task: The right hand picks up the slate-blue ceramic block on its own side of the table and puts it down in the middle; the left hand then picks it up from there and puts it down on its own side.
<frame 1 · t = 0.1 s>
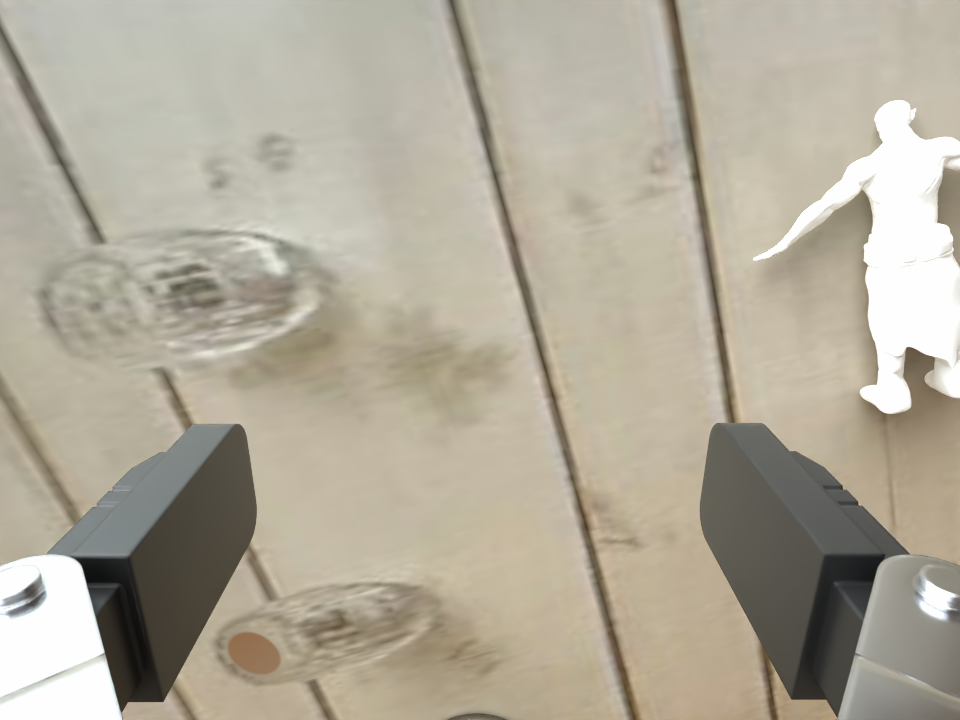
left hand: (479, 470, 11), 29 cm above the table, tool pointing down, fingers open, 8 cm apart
figurine: (887, 254, 39), on the table
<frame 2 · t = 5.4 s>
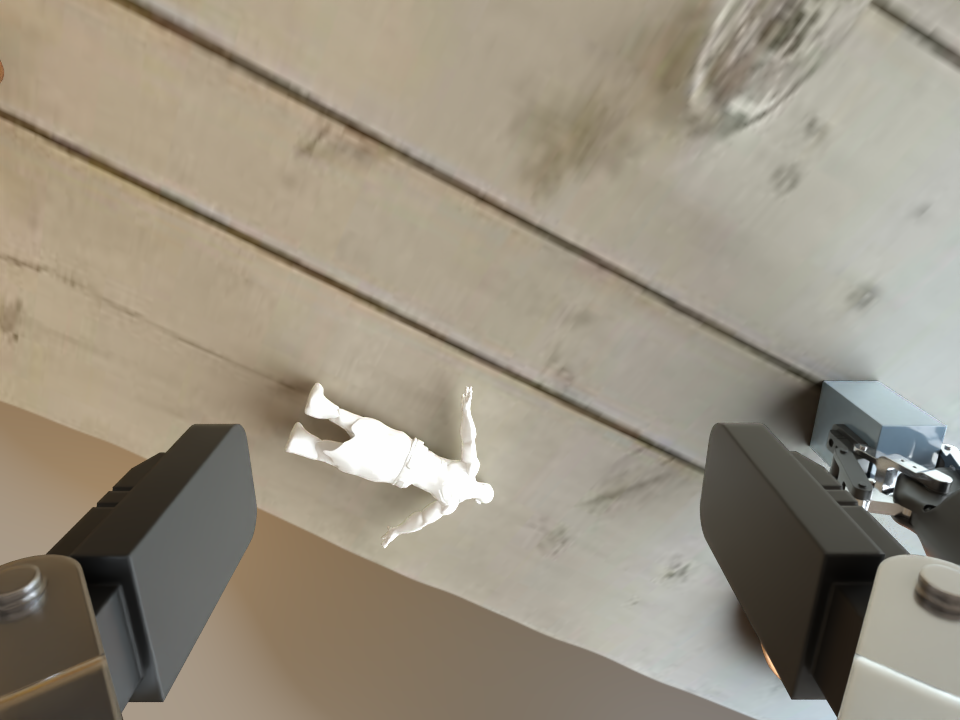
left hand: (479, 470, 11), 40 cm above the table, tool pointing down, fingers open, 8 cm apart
right hand: (868, 434, 51), fingers closed on block, 4 cm apart
figurine: (401, 447, 56), on the table
block: (843, 414, 55), on the table, touching right hand
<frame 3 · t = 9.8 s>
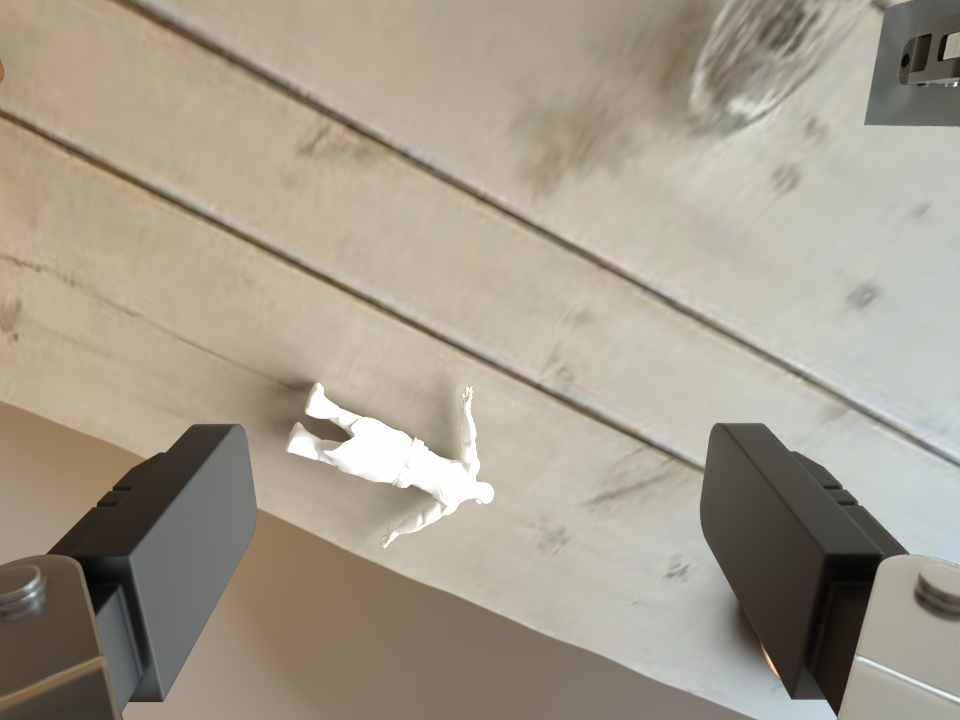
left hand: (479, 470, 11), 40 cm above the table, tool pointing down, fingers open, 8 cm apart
figurine: (401, 447, 56), on the table
block: (914, 67, 37), point 9 cm above the table, touching right hand
when the right hand's fingers open (5 cm above the table, at t = 14.2 s): block drops 2 cm, on the table.
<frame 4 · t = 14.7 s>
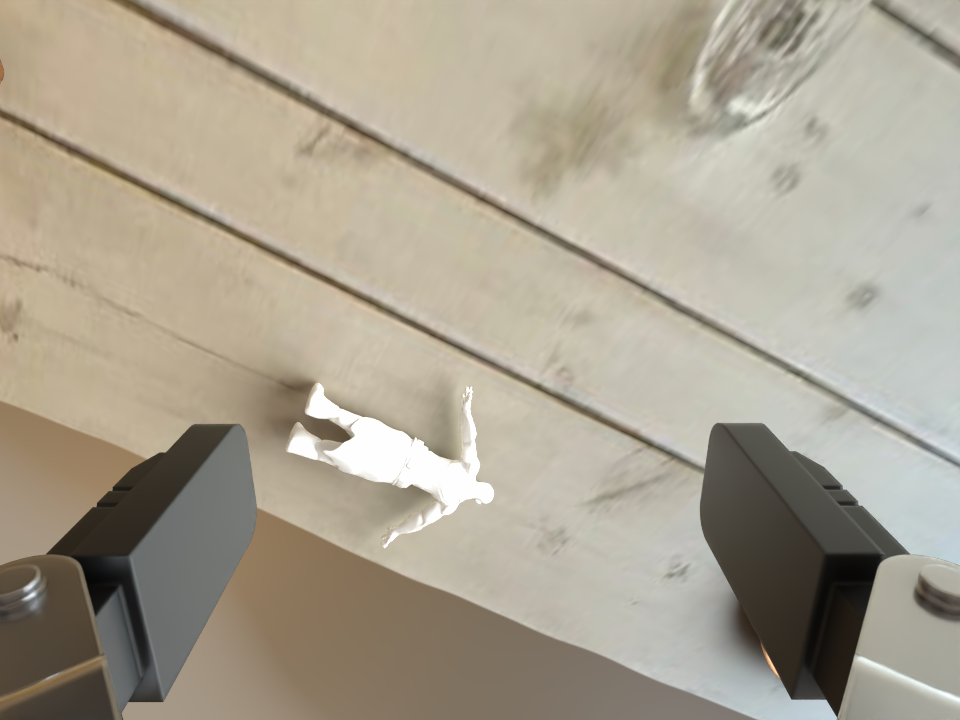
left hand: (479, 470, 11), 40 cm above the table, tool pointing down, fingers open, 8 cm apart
figurine: (401, 447, 56), on the table
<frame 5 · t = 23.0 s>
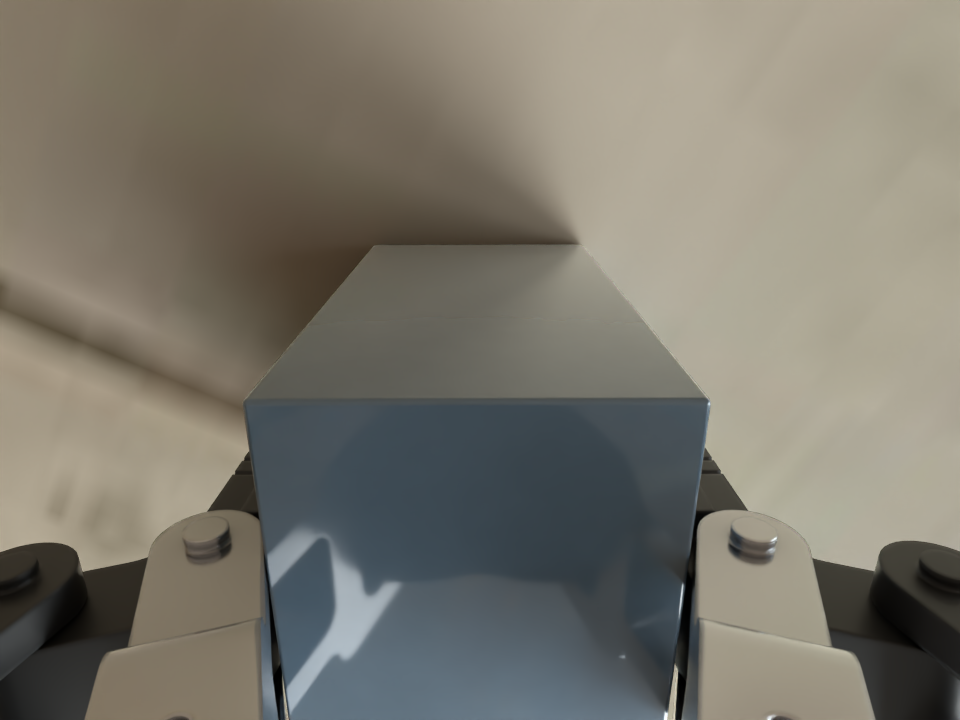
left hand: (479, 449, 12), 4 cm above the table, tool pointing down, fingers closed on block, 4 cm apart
block: (478, 374, 15), on the table, touching left hand
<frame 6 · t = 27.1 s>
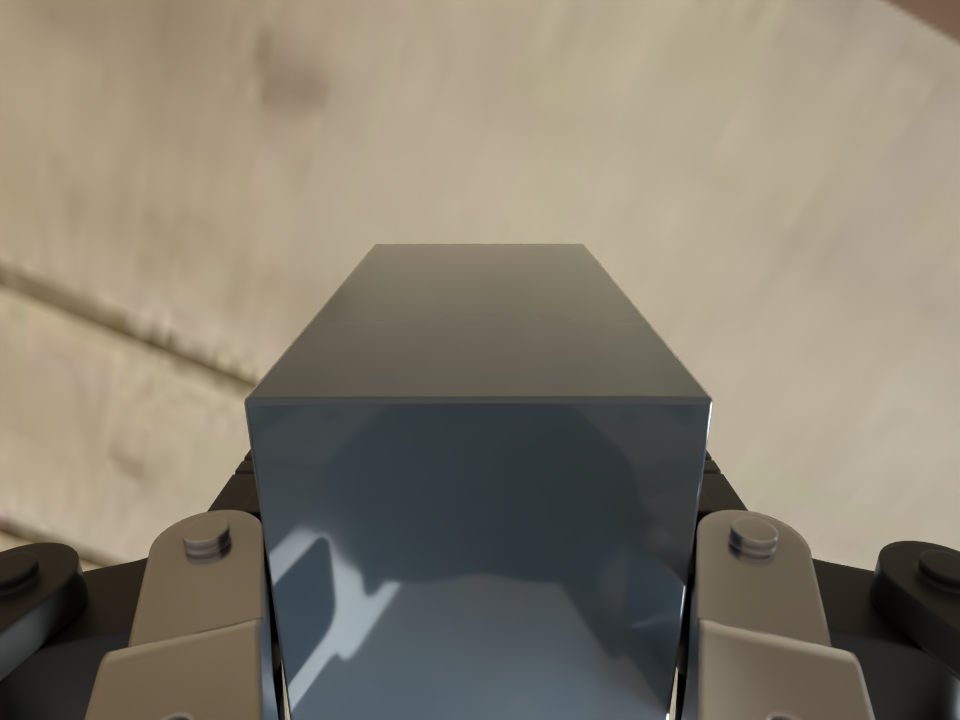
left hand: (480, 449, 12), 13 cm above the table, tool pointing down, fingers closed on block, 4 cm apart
block: (479, 374, 15), point 9 cm above the table, touching left hand
when the left hand's fingers open (5 cm above the table, at t = 31.0 s): block drops 2 cm, on the table.
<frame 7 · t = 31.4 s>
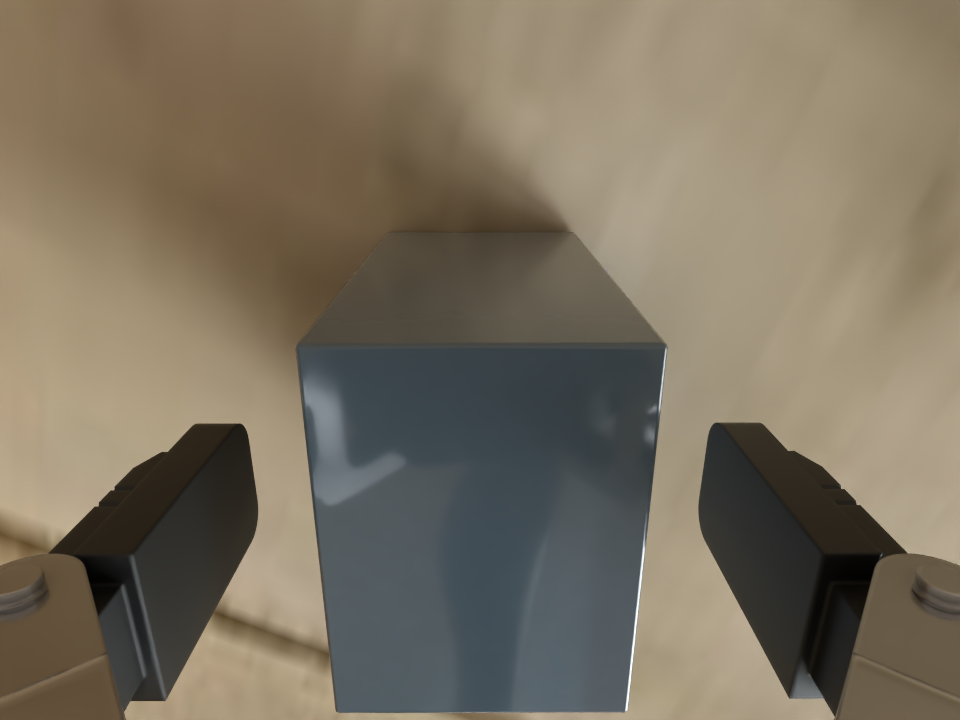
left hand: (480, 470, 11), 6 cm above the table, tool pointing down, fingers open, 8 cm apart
block: (480, 350, 17), on the table
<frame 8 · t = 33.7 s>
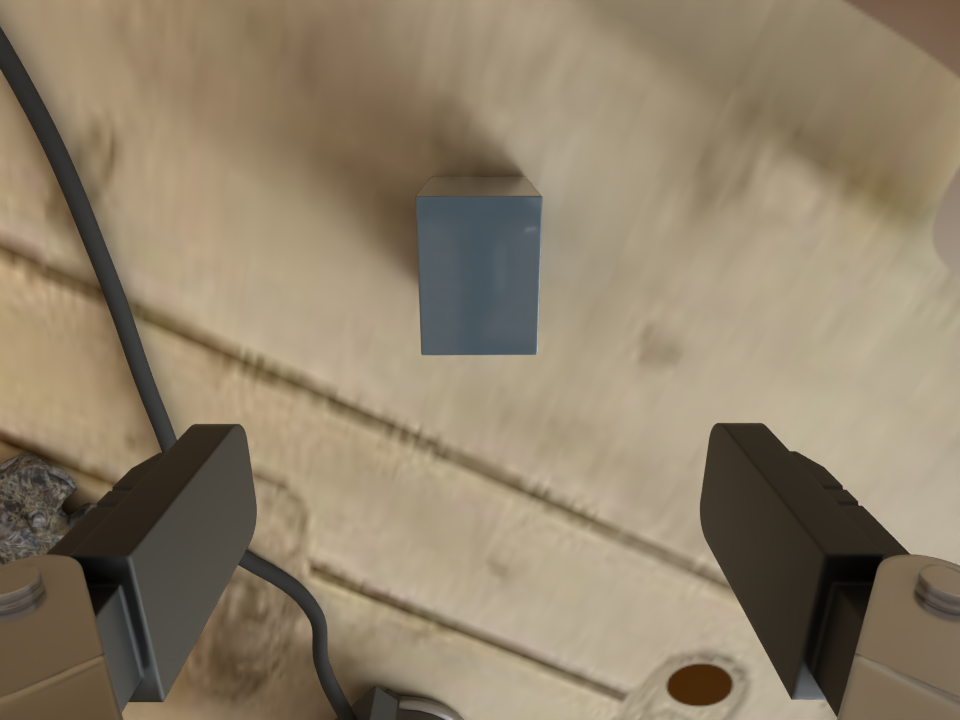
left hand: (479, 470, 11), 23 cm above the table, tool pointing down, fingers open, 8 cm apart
stone slab: (32, 568, 40), on the table
block: (479, 240, 32), on the table
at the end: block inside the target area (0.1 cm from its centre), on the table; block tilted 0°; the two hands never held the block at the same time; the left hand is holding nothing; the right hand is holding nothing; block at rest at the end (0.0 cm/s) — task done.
